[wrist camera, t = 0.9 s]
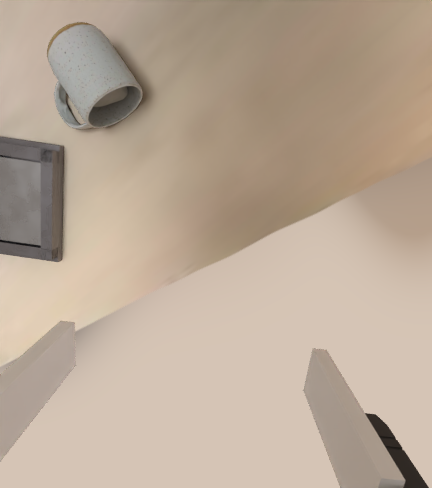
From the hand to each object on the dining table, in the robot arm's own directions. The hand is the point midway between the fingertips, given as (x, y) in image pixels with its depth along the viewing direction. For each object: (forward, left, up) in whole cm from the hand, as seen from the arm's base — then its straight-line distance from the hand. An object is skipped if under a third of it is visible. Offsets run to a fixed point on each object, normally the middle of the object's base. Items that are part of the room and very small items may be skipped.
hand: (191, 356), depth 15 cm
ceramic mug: (-18, -17, -25) cm, 35 cm away
